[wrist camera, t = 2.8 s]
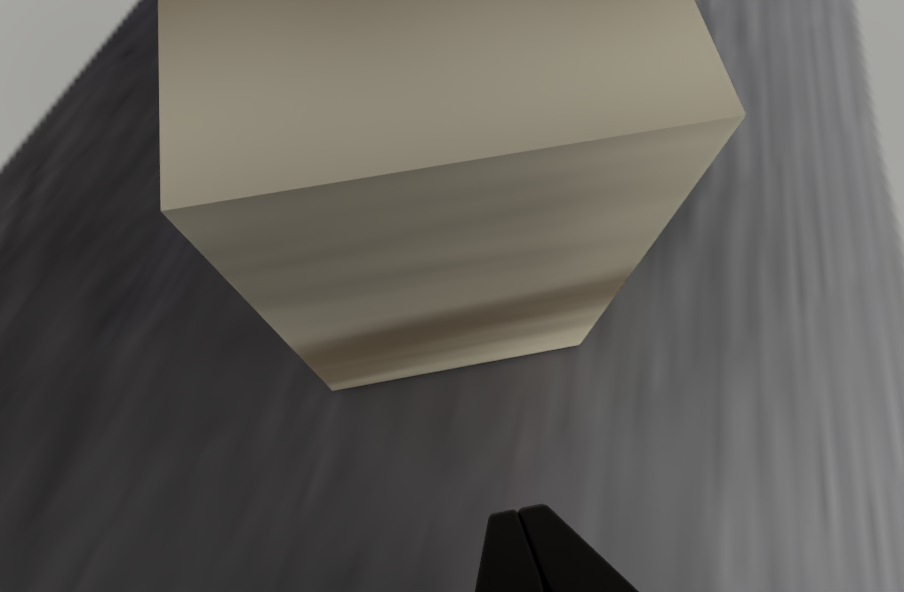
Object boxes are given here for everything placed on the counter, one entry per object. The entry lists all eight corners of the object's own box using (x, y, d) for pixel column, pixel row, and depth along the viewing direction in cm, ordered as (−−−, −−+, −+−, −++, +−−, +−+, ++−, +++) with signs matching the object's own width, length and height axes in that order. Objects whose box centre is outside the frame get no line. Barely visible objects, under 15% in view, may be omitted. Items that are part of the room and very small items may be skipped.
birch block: (579, 344, 16) (745, 114, 7) (332, 390, 16) (160, 210, 7) (537, 193, 18) (626, -152, 9) (313, 230, 18) (157, -90, 8)
